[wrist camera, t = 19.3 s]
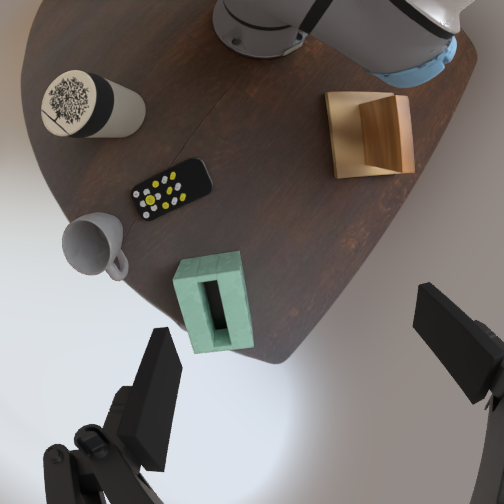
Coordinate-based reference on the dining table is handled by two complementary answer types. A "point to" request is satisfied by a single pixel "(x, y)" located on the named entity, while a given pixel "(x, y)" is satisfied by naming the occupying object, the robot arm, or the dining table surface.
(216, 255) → the toaster
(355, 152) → the board
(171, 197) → the remote control
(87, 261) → the mug
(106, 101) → the travel mug
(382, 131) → the toast
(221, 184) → the dining table surface
